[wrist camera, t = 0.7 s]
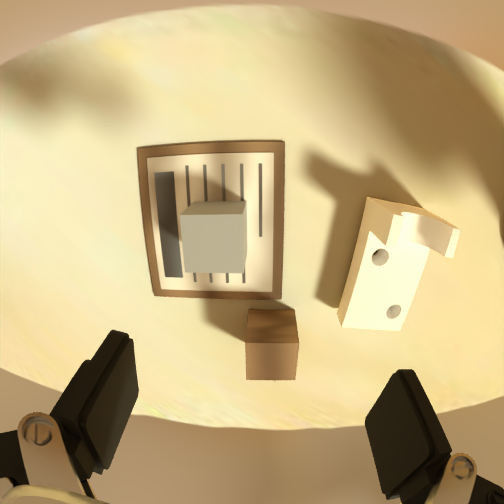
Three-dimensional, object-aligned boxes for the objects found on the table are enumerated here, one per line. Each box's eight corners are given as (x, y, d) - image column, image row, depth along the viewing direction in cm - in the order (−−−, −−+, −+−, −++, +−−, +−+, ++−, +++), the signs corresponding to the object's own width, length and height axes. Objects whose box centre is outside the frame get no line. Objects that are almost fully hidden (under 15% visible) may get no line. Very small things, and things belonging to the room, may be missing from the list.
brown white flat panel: (284, 141, 26) (284, 142, 26) (281, 297, 32) (281, 300, 32) (138, 148, 27) (136, 148, 26) (155, 294, 33) (154, 296, 32)
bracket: (364, 194, 28) (393, 214, 21) (422, 207, 28) (461, 229, 21) (335, 309, 33) (350, 351, 26) (389, 313, 33) (412, 353, 26)
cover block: (246, 200, 28) (242, 214, 23) (247, 251, 30) (243, 273, 25) (193, 201, 28) (179, 215, 23) (197, 250, 30) (185, 272, 25)
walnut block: (294, 309, 33) (299, 343, 27) (291, 344, 34) (295, 379, 29) (248, 309, 33) (245, 342, 27) (249, 344, 35) (246, 379, 29)
